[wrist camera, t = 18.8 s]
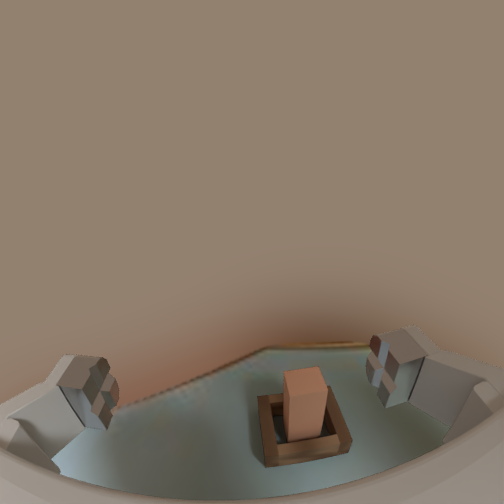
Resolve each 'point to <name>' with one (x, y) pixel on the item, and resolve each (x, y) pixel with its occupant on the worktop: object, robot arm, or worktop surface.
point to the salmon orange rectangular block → (303, 404)
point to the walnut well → (308, 448)
